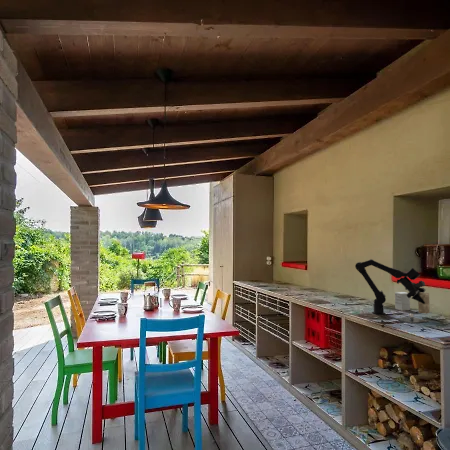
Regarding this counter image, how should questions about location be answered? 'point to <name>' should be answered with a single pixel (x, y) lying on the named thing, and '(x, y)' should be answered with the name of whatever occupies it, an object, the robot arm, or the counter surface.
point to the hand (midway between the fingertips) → (426, 302)
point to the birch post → (424, 307)
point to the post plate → (406, 319)
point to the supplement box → (402, 301)
